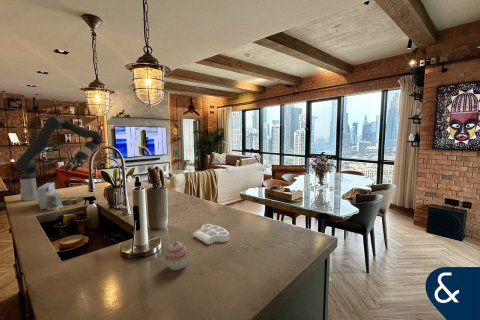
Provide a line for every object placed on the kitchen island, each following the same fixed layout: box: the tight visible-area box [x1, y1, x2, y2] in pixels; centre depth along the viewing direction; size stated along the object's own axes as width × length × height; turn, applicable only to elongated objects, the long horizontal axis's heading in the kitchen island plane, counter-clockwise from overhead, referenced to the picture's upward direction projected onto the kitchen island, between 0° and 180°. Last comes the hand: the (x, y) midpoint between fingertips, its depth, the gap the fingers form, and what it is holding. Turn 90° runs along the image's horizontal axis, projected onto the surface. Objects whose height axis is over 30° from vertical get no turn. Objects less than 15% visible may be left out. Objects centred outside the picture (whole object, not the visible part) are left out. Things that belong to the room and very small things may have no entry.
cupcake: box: [163, 241, 190, 272], centre depth 88 cm, size 9×9×10 cm
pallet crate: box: [46, 193, 64, 211], centre depth 162 cm, size 6×6×10 cm
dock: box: [61, 196, 84, 206], centre depth 178 cm, size 14×10×3 cm
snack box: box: [36, 182, 57, 211], centre depth 171 cm, size 21×6×15 cm, turn 25°
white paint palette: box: [192, 223, 230, 245], centre depth 114 cm, size 3×18×15 cm
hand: (68, 170), depth 170 cm, fingers open, 8 cm apart
